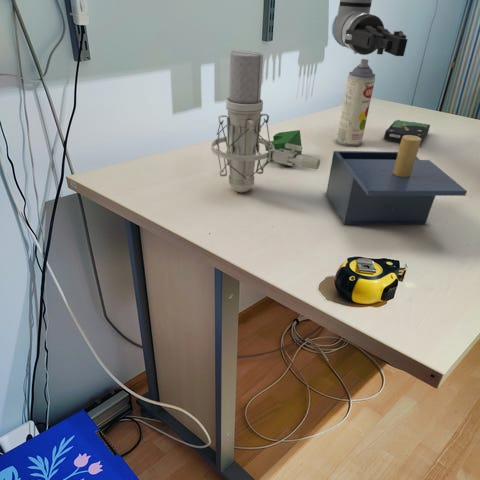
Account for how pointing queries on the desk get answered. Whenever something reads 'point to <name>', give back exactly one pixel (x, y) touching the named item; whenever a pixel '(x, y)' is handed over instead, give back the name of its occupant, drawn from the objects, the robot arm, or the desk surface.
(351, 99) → the aerosol can
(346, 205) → the bin
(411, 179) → the lid
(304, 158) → the microphone
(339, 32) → the robot arm
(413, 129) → the disk drive
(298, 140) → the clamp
